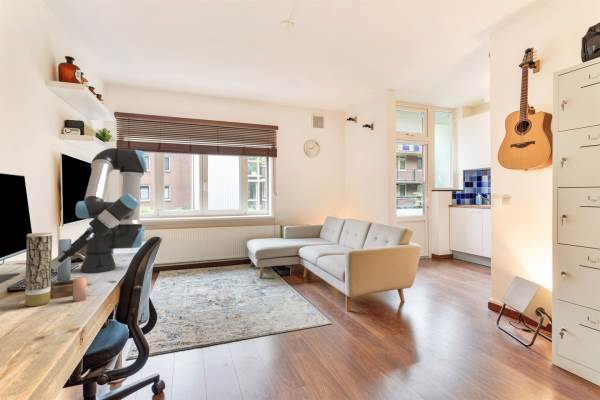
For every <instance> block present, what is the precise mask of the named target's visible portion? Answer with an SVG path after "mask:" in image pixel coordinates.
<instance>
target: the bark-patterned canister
mask: <svg viewBox="0 0 600 400" xmlns="http://www.w3.org/2000/svg"><path fill="white" fill-rule="evenodd" d="M52 251H53V233H52V232H32V233H27V235H26V250H25V252H26V254H25V256H26V257H25V258H26V259H25V287H24V288H25V290H24V291H25V292H24V293H25V296H24V305H26V306H27V307H38V306H43V305H46V304H48V303H49V302H51V299H50V291H51V282H52V276H51V275H52V273H51V261H52V260H53V259H52V258H53V255H52Z"/></svg>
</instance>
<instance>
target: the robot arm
mask: <svg viewBox="0 0 600 400" xmlns="http://www.w3.org/2000/svg"><path fill="white" fill-rule="evenodd" d="M90 167H91V168H90V169H91V172H90V173H91V174H90V177H89V179H88V180H89V181H88V185H87V189H86V191H85V194H84V195H85V196H84V200H81V201H80V200H79V201H77V203H76V205H75V216H76V217H77V218H78V219H89V220H90V219H92V220H91V221H90V222H88V225H89V227H87V229H86V230H85V231H84V233H82V234H81V235H80V236H79V237H78V238H77V239H75V240H74V241H73V242H71V248H70V249H68V250H67V251H63V252H64V253H63V254H61V255H60V256H59V257H58V255H57V256H56V257H55V258H53V259H51V268H52V269H53V270H55V269H58V267H59V266H60V265H61V264H63V263H64V262H65V261H66V260H67V259H68V258H70V257H71V258H72V257H73V256H74V255H76V254H77V253H79V252H80V251H81V249H83V248H84V247H85V250H84V251H85V252H84V253H85V254H84V255H85V256H84V259H83V260H82V264H81V265H80V272H81V273H85V274H87V273H92V274H94V273H105V272H109V271H112V270H114V269H116V262H115V260H114V256H113V250H118V249H119V250H120V249H122V250H123V249H139V248H140V247H142V245H143V241H144V235H145V226H144V225H143V223H142V222H141V221H140V207H141V206H140V202H141V199H140V198H141V178H142V177H143V176H144V174H145V173H146V172H148V171H147V163H146V154H145V151H142V150H138V149H129V148H115V147H110V148H106V149H103V150H101V151H100V152H98V153H97V154H96V155H95V156H94V157H93V159H92V161H91V163H90ZM114 170H115V171H119V175H121V176H122V185H121V196H120V197H119V198H118V199H117V200H115V201H105V200H106V195H107V191H108V190H107V189H108V185H109V184H108V183H109V179H110V174H111V173H112V172H113V171H114Z"/></svg>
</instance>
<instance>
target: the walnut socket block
mask: <svg viewBox="0 0 600 400" xmlns="http://www.w3.org/2000/svg"><path fill="white" fill-rule="evenodd" d="M73 279H74V278H73ZM73 279H70V280H68V281H57V280H55V281H51V291H50V300H51V299H59V298H66V297H73Z"/></svg>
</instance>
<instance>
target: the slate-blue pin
mask: <svg viewBox="0 0 600 400" xmlns="http://www.w3.org/2000/svg"><path fill="white" fill-rule="evenodd" d="M57 244H58V245H57V248H58V249H57V250H58V251H57V256H58V257H59V256H60V255H61V254H63V253H64V252H63V251H67V250H68V249H70V248H71V244H72V239H71V238H64V239H63V238H60V239H58V243H57ZM71 264H72V257H70V258H68V259H67V260H66V261H65V262H64V263H63V264H61V265H60V266H59V267H58V268H57V269H58V273H57V279H56V281H68V280H71V267H72V266H71Z"/></svg>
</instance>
